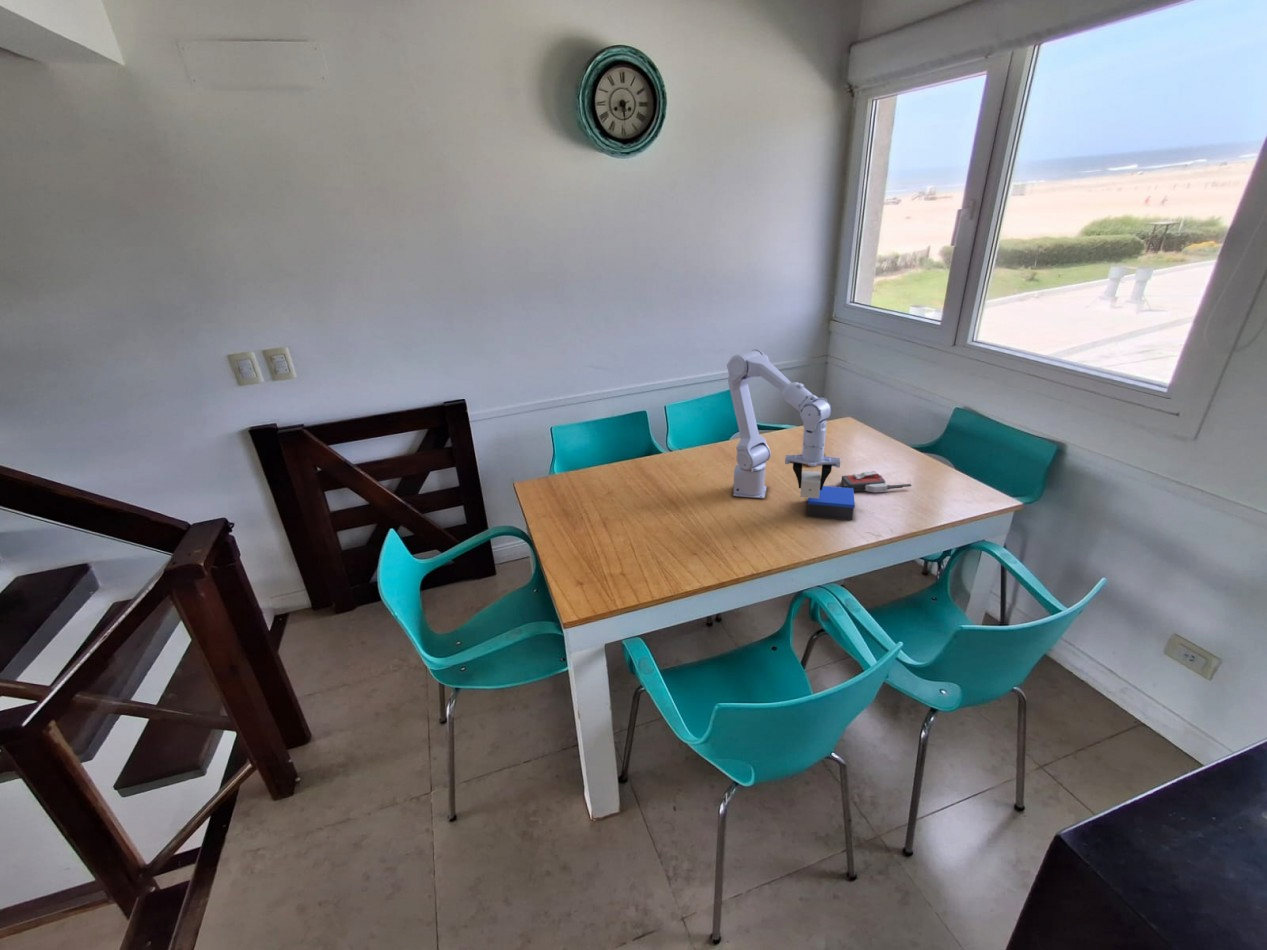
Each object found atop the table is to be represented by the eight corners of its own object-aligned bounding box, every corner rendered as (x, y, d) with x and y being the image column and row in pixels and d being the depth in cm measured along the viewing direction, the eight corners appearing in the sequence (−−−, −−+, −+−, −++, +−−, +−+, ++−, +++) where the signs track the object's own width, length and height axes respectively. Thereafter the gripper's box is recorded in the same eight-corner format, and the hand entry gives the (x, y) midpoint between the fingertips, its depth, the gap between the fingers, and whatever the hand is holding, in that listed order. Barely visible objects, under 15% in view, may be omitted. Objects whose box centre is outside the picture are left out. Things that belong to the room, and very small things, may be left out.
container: (806, 516, 160) (808, 501, 158) (807, 499, 169) (809, 484, 167) (852, 520, 156) (854, 505, 154) (851, 503, 165) (853, 488, 163)
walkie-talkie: (847, 496, 169) (912, 490, 169) (848, 483, 167) (914, 477, 167) (836, 483, 177) (898, 478, 177) (837, 470, 175) (900, 465, 175)
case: (819, 498, 154) (820, 482, 152) (800, 497, 156) (801, 481, 154) (819, 487, 160) (820, 471, 158) (801, 485, 162) (802, 470, 160)
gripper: (785, 447, 151) (782, 491, 156) (842, 450, 146) (837, 496, 152) (787, 437, 157) (784, 481, 162) (841, 440, 152) (837, 484, 158)
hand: (810, 487), depth 158 cm, fingers closed on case, 5 cm apart
